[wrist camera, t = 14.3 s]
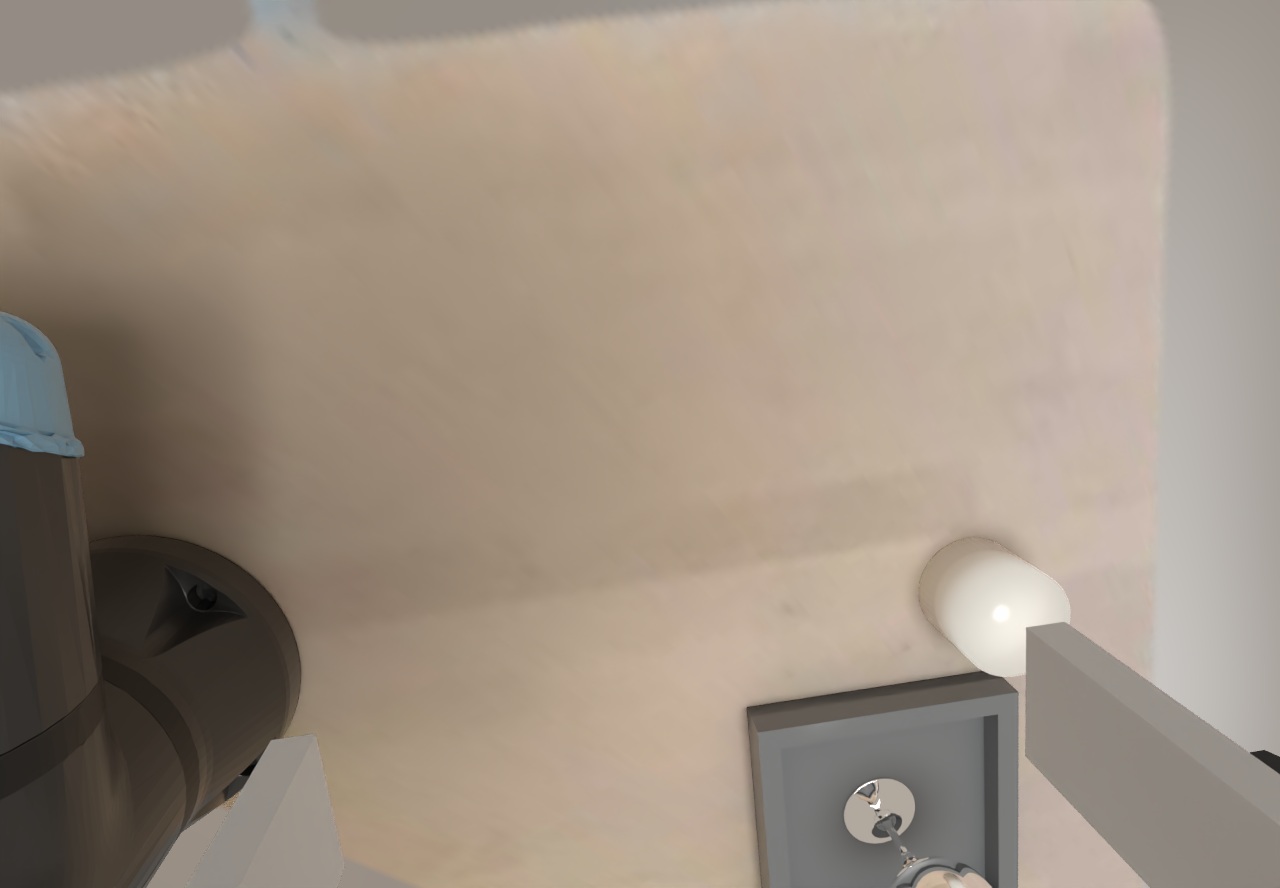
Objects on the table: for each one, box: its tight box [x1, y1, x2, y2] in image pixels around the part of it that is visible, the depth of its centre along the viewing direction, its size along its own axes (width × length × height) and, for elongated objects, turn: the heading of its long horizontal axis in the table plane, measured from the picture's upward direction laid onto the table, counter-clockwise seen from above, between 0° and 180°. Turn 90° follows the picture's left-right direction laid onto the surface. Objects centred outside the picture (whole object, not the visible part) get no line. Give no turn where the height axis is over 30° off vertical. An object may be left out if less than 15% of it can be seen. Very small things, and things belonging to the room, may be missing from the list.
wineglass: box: [843, 777, 992, 888], centre depth 43 cm, size 6×6×12 cm
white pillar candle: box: [919, 538, 1071, 677], centre depth 45 cm, size 6×6×5 cm
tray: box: [747, 671, 1018, 888], centre depth 48 cm, size 15×15×3 cm
